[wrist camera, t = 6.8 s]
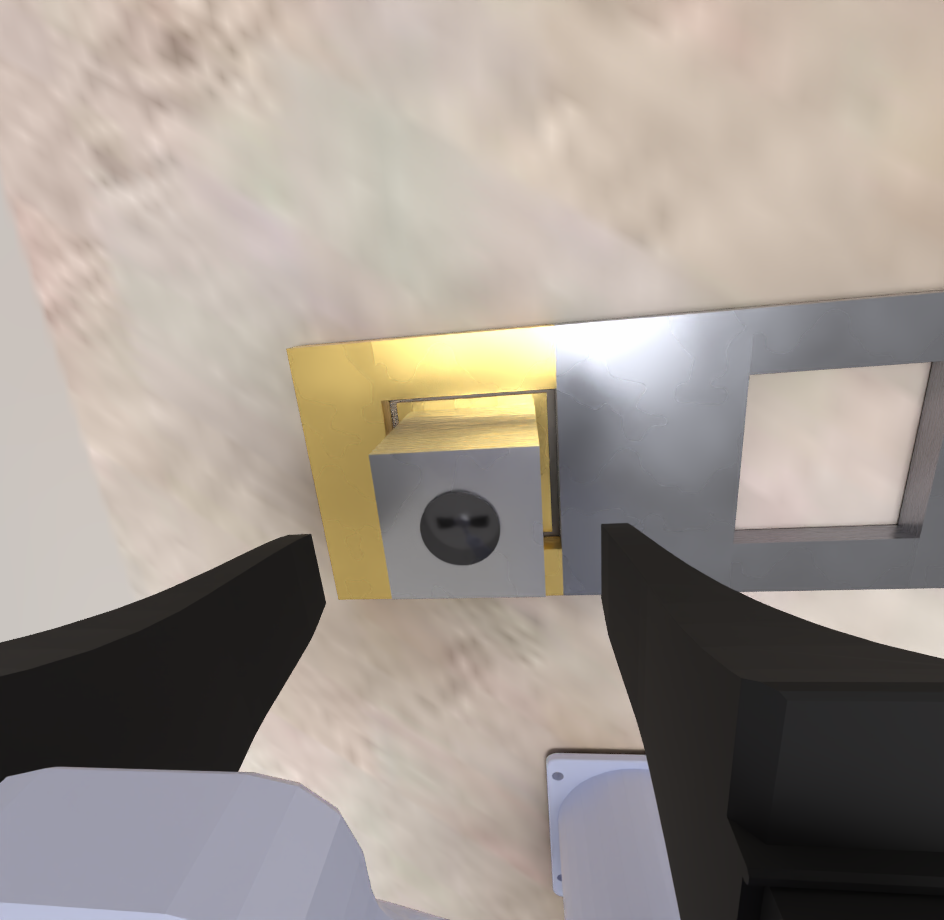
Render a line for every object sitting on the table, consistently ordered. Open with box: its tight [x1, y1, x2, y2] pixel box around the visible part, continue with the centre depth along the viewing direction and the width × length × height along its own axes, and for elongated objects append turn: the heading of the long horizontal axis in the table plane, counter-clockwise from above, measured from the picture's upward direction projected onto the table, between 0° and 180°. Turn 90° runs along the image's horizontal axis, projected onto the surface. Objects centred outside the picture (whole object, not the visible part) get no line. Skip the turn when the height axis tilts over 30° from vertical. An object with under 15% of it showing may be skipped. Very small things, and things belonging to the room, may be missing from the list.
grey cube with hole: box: [369, 404, 546, 599], centre depth 15 cm, size 4×4×5 cm
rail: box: [286, 290, 944, 600], centre depth 17 cm, size 10×24×1 cm, turn 95°
